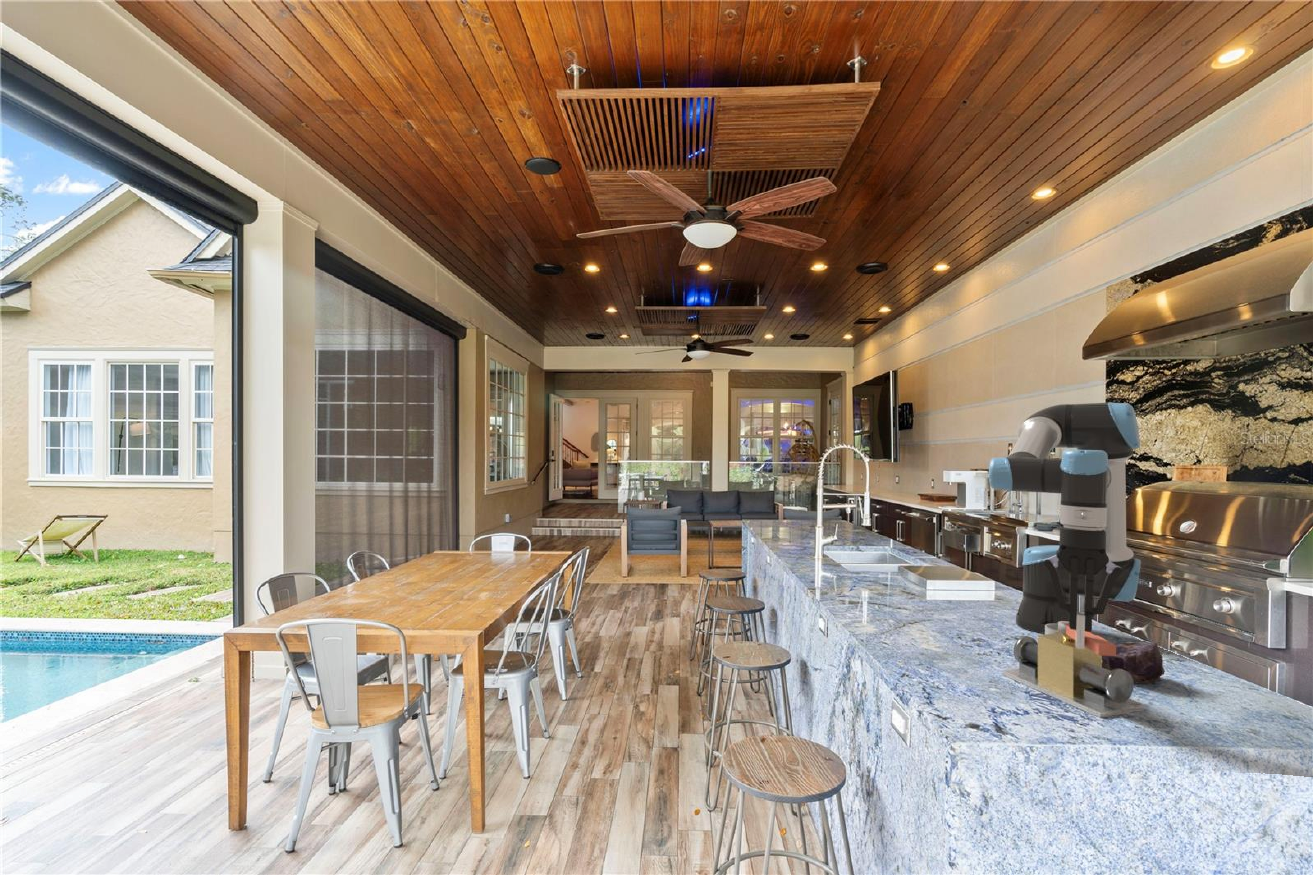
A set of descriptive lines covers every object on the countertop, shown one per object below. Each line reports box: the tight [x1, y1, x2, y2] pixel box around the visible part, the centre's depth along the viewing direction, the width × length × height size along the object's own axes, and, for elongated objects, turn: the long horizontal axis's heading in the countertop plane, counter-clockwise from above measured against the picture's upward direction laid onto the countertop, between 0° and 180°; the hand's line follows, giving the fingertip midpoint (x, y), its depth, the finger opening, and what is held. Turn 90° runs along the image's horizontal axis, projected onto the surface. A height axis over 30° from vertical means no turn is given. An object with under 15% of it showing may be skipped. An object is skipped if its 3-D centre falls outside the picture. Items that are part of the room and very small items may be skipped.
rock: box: [1102, 641, 1165, 685], centre depth 134 cm, size 12×9×10 cm
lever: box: [1058, 621, 1117, 656], centre depth 122 cm, size 16×4×2 cm, turn 171°
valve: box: [1002, 633, 1146, 719], centre depth 128 cm, size 12×22×12 cm, turn 17°
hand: (1079, 646), depth 119 cm, fingers closed
